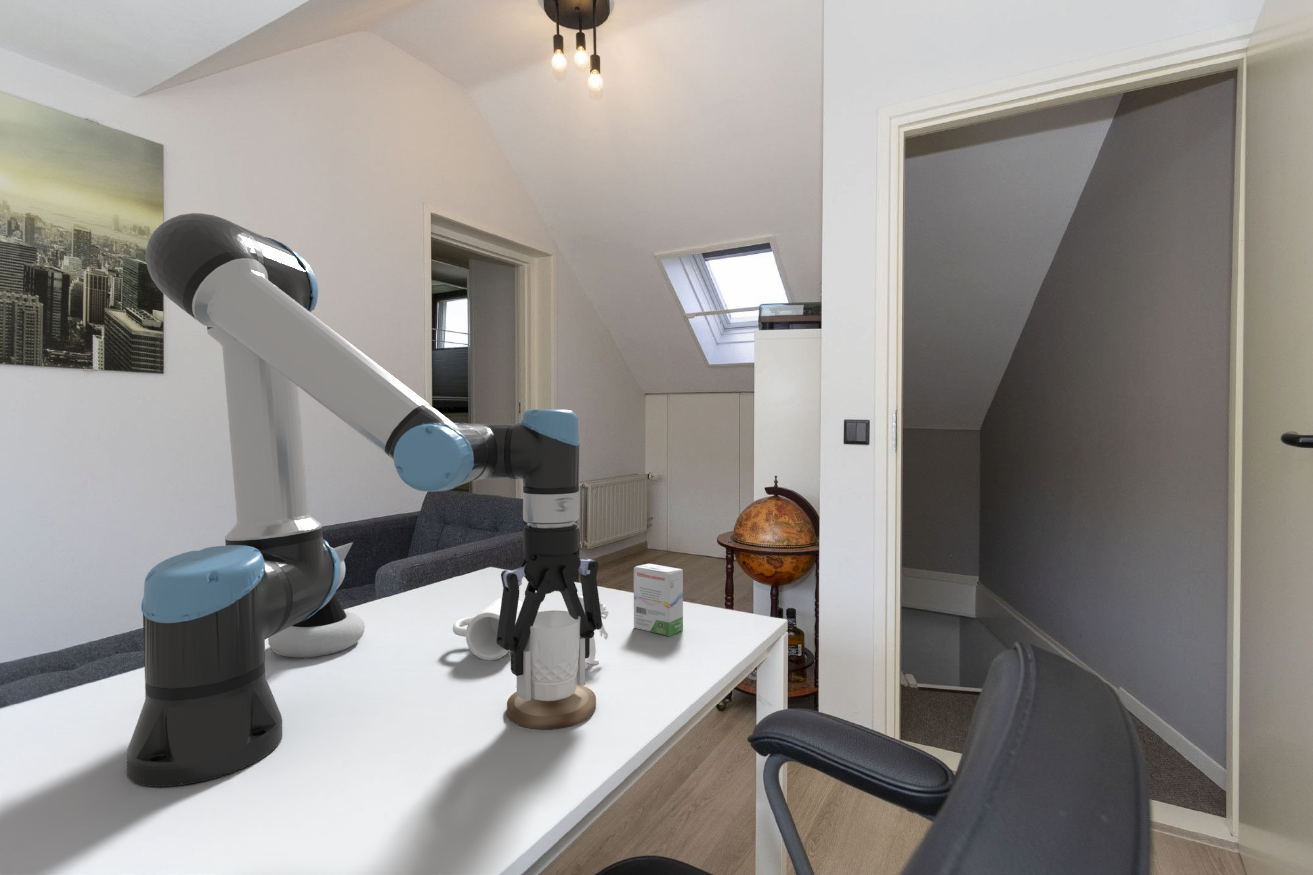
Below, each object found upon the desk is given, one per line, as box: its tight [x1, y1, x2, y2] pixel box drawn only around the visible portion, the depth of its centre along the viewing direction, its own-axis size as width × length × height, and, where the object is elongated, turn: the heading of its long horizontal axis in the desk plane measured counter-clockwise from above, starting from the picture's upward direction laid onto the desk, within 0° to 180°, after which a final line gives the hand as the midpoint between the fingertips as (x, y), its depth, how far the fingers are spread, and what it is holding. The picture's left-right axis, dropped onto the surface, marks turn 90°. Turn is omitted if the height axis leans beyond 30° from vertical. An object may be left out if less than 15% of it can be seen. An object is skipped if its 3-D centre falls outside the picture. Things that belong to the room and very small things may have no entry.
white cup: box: [525, 609, 581, 701], centre depth 88 cm, size 8×8×10 cm
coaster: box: [506, 684, 597, 730], centre depth 88 cm, size 12×12×1 cm
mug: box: [452, 597, 523, 661], centre depth 111 cm, size 12×10×8 cm
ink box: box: [633, 563, 684, 637], centre depth 122 cm, size 8×5×12 cm, turn 53°
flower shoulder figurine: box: [578, 594, 609, 670], centre depth 104 cm, size 9×4×12 cm, turn 137°
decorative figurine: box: [267, 541, 366, 659], centre depth 112 cm, size 15×15×20 cm
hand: (551, 689), depth 88 cm, fingers closed on white cup, 7 cm apart
